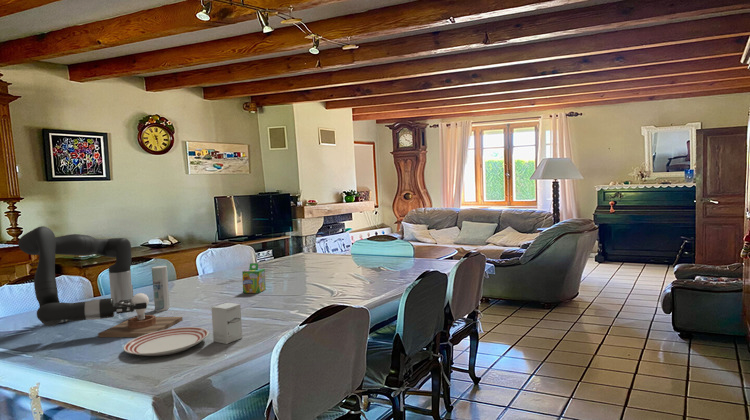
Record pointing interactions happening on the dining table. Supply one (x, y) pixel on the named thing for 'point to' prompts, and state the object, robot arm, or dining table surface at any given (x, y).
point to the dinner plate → (166, 341)
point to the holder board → (139, 331)
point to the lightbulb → (140, 299)
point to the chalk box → (254, 279)
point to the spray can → (160, 288)
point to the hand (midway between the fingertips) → (146, 303)
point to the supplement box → (226, 323)
